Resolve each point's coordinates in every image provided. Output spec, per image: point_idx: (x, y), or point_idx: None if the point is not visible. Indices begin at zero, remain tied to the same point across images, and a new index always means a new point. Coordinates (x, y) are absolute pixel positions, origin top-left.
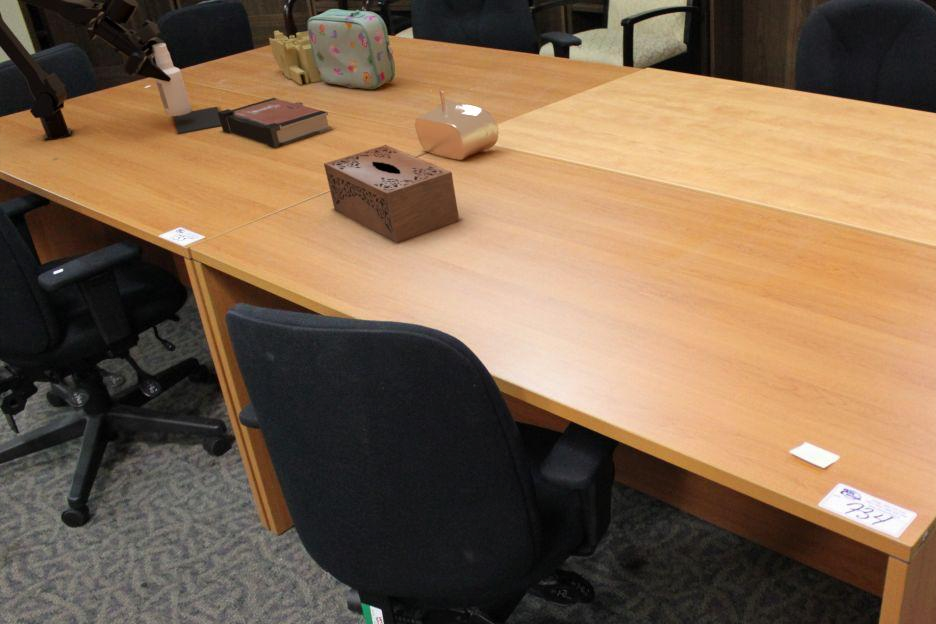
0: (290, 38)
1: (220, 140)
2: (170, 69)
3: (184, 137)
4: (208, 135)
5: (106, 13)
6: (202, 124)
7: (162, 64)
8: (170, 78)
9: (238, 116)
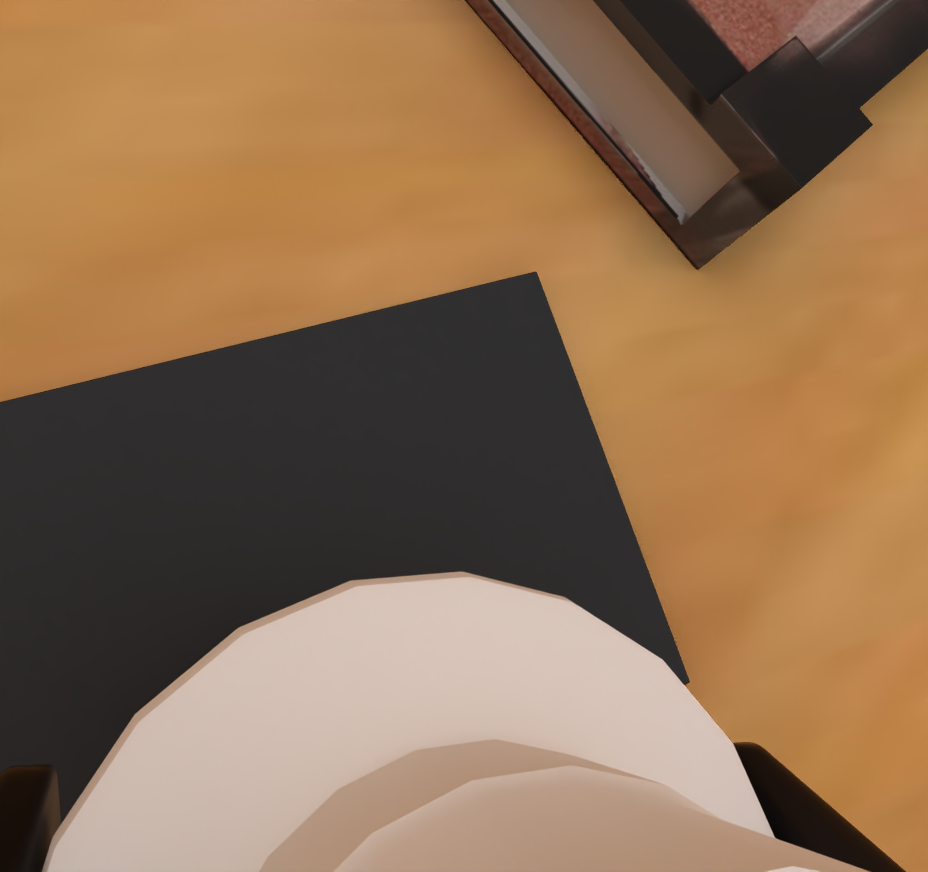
0: None
1: (913, 259)
2: (657, 780)
3: (791, 588)
4: (779, 376)
5: None
6: (474, 491)
7: None
8: (747, 745)
9: (861, 24)
